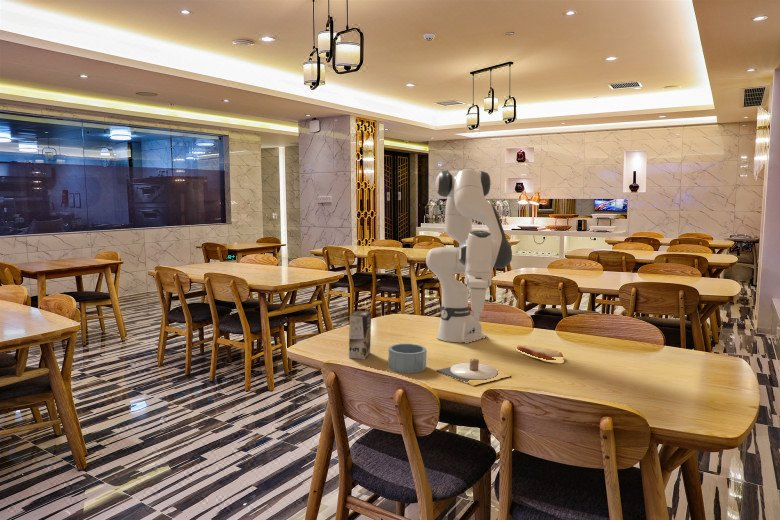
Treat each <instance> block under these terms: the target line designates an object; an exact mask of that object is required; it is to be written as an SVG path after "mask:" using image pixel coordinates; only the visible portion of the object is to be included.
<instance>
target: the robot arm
mask: <svg viewBox="0 0 780 520" xmlns="http://www.w3.org/2000/svg"><path fill="white" fill-rule="evenodd" d="M491 187H492V180H491V177H490V174H489V173H488V172H485V171H483V170H482V171H481V170H479V171H477V170H475V169H472V168H463V169H461V170H460V169H459V170H449V169H448V170H442V171H440V172H438V174H437V177H436V179H435V189H436V192H437V194H438V195H439V196H440V197H443V198H446V204H445V210H444V211H445V215H444V219H445V220H444V232H445V235H446V236H448V237H449V238H451V239H452V240H454V241H456V242H457V243H458V247H455V246H454V247H451V246H450V247H449V246H439V247H433V248H431V249H430V250H428V252H427V254H426V256H425V264H426V267H427V268H428V269H429V270H430V271H431V272H432V273H433V274H434V275H435V276H436V278H437V279H438V281H439V283H440V286H441V287H440V288H441V304H440V320H439V326H438V330H437V335H436V338H437V339H438V340H440V341H444V342H449V343H462V342H465V343H464V344H470V343H469V342H471V343H473V342H472V341H474V340H477V341H479V340H478V339H480V340H482V339H481V338H483V339H485V338H484V337H486V338H488V335H487V333H485V332H483V331H482V324H481V322H480V317H481V312H482V313H483V312H484V306H485V300H486V295H487V291H488V289H489V287H490V286H492V280H493V279H492V277H493V276H492V275H493V274H492V273H493V272H492V271H493V269H504V268H505V267H507V266H508V265H509V264H511V262H512V260H513V250H512V247H511V244H510V242H509V240H508V238H507V236H506V234H505V230H504V228H503V225H502V222H501V219H500V216H499V214H498V212H497V211H498V210H496V208H495V207H496V206H495V205H493V204H491V203H490V202H489V201H488V200H487V199H486V196H488V195H489V193H490V190H491ZM472 220H474V221H477V222H479V223H481V224H484V226H486V227H487V228H488V230H489V232H488V231H486V230H485V231H484V230H473V227H472V223H473V222H472ZM492 268H493V269H492ZM456 274H462V275H464V283H463V282H462V281H459V280H457V278H456V277H455V275H456ZM469 295H470V296H469ZM469 297H470V306H469ZM471 312H473V315H472V313H471ZM474 342H475V341H474Z"/></svg>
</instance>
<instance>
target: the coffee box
mask: <svg viewBox="0 0 780 520" xmlns="http://www.w3.org/2000/svg"><path fill="white" fill-rule="evenodd" d="M348 329H349V333H348V334H349V335H348V336H349V337H348V338H349V339H348V340H349V341H348V358H349V359H358V360H359V359H360V360H366V359H367V357H368V356H369V355H370V353H371V341H372V340H371V338H372V337H371V335H372V334H371V333H372V312H371V311H363V310H361V311H360V310H355V311H354V312H353V313H352V314H350V315H349V328H348Z"/></svg>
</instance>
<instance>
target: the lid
mask: <svg viewBox="0 0 780 520" xmlns="http://www.w3.org/2000/svg"><path fill="white" fill-rule="evenodd" d="M450 367H451V368H450V372H451V373H452V374H453V375H454V376H456V377H459V378H463V379H468V380H487V379H491V378H494V377H496V376H497V375H498V371H499V370H498V371H497V368H495V367H493V366H491V365H489V364H488V365H487V364H484V363H480V360H479V358H470V359H469V362H462V363H461V362H460V363H456V364H453V365H451V366H450Z"/></svg>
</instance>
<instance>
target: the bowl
mask: <svg viewBox="0 0 780 520" xmlns="http://www.w3.org/2000/svg"><path fill="white" fill-rule="evenodd" d="M387 356H388V357H387V358H388V360H387V364H388V369H389V370H390V371H392V372H395V373H399V374H418V373H422V372H424V371H425V370H426V367H427V348H426V347H425V346H423V345H420V344H417V343H416V344H415V343H397V344H392V345H389V346H388V355H387Z"/></svg>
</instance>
